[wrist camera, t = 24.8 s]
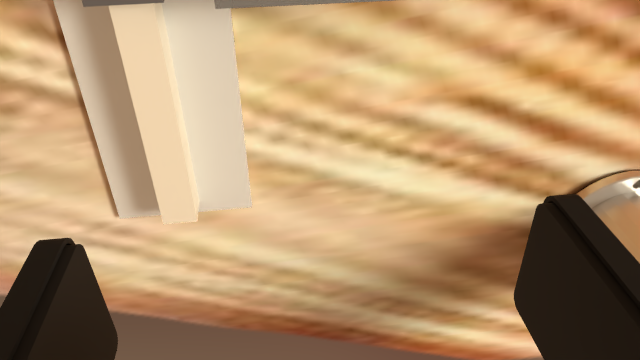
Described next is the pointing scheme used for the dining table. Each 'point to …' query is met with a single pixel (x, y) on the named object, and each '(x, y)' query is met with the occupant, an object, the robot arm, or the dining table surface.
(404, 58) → the dining table surface
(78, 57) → the mat
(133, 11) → the cream rectangular bar
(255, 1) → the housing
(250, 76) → the dining table surface
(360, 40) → the dining table surface
